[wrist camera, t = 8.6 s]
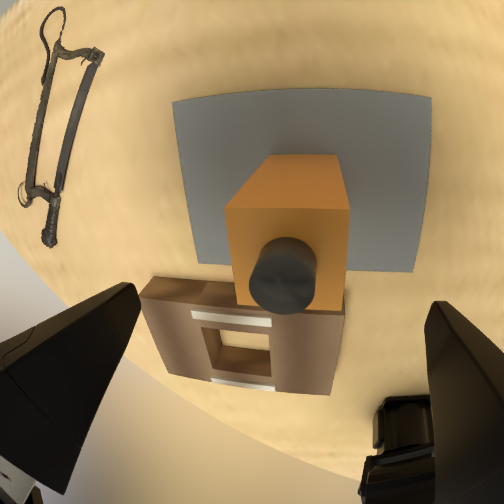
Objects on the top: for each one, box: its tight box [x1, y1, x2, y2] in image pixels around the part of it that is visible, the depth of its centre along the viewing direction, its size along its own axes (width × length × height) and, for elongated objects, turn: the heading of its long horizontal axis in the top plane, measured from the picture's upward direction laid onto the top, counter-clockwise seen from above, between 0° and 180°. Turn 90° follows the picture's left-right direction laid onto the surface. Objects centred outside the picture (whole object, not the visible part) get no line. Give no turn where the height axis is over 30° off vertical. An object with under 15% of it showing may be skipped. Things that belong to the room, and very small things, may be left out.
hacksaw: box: [18, 7, 105, 249], centre depth 20 cm, size 24×10×2 cm, turn 149°
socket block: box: [139, 277, 345, 395], centre depth 24 cm, size 16×10×3 cm, turn 95°
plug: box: [224, 154, 350, 315], centre depth 13 cm, size 4×4×10 cm
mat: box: [172, 88, 431, 272], centre depth 18 cm, size 16×12×1 cm
